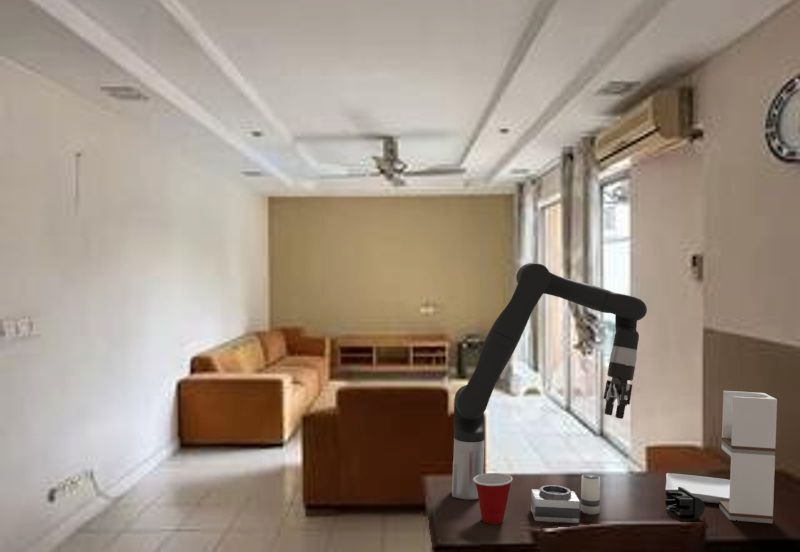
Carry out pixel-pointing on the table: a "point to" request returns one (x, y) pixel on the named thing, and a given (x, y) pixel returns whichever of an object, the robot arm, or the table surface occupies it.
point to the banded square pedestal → (555, 504)
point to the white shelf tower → (749, 455)
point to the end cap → (684, 504)
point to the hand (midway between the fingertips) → (613, 416)
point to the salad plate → (700, 486)
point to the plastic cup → (493, 495)
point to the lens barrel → (590, 494)
